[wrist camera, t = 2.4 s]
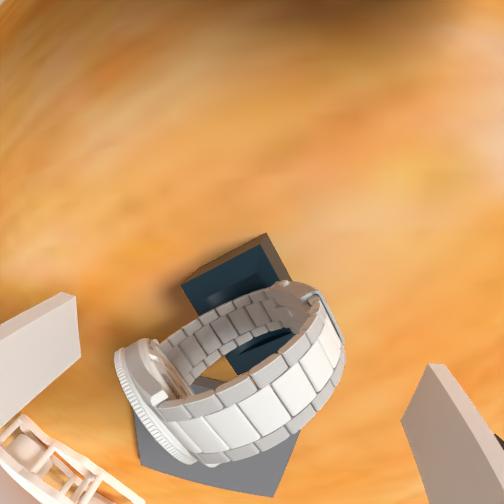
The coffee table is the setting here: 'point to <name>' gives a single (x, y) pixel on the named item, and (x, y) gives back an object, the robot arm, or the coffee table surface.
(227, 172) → the coffee table surface
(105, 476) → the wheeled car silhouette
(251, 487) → the mat
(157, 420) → the watch
